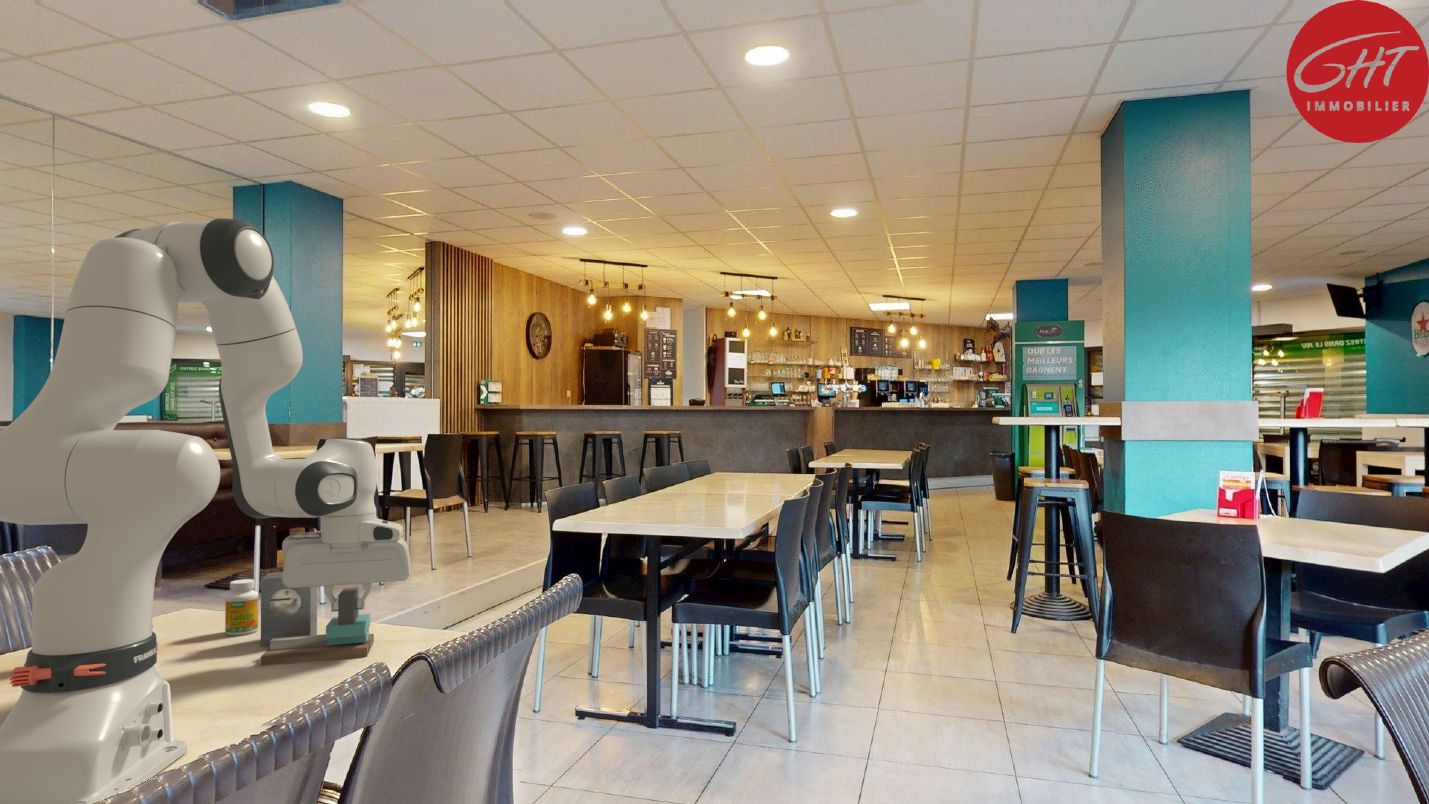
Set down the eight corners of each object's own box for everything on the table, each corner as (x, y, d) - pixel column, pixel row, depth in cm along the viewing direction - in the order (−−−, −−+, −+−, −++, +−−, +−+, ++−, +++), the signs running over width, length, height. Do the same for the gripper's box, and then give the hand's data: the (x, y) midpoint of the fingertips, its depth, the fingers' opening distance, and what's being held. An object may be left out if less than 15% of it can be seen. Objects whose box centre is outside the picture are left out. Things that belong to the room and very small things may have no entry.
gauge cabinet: (309, 643, 140) (309, 576, 141) (259, 647, 138) (260, 579, 138) (316, 633, 147) (317, 569, 147) (269, 637, 144) (269, 572, 144)
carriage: (364, 644, 133) (364, 594, 133) (325, 647, 131) (326, 597, 131) (369, 633, 140) (369, 586, 140) (333, 636, 138) (333, 588, 138)
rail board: (366, 656, 132) (367, 638, 132) (260, 665, 127) (260, 647, 127) (373, 642, 141) (373, 625, 141) (274, 650, 136) (274, 633, 136)
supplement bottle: (226, 638, 144) (226, 585, 145) (224, 631, 149) (224, 580, 149) (259, 633, 148) (260, 581, 148) (256, 627, 152) (256, 577, 152)
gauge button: (299, 562, 142) (299, 551, 142) (274, 564, 140) (275, 553, 140) (304, 559, 145) (304, 548, 145) (280, 560, 144) (280, 549, 144)
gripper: (277, 535, 130) (277, 619, 129) (408, 529, 136) (408, 609, 135) (286, 530, 136) (286, 610, 135) (411, 525, 142) (411, 601, 141)
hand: (348, 609), depth 135 cm, fingers closed on carriage, 2 cm apart
